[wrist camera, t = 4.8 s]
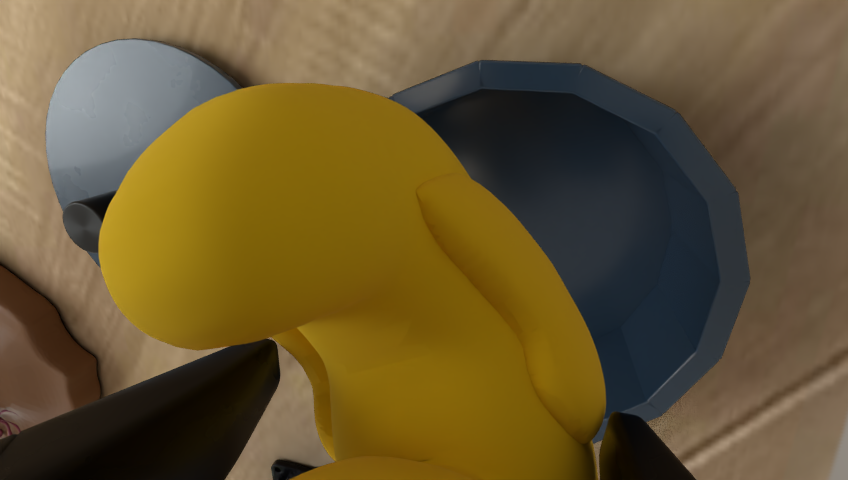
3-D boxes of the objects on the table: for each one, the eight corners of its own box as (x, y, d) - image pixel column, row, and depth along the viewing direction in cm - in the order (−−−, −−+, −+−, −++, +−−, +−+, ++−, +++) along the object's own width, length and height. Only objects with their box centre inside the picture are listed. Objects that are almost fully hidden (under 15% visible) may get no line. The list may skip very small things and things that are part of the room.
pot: (365, 338, 24) (322, 405, 19) (360, 59, 18) (297, 53, 13) (642, 390, 21) (674, 485, 16) (737, 73, 15) (831, 72, 10)
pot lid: (105, 295, 28) (9, 344, 23) (30, 36, 22) (-122, 24, 17) (319, 336, 24) (262, 404, 19) (299, 44, 19) (211, 33, 14)
